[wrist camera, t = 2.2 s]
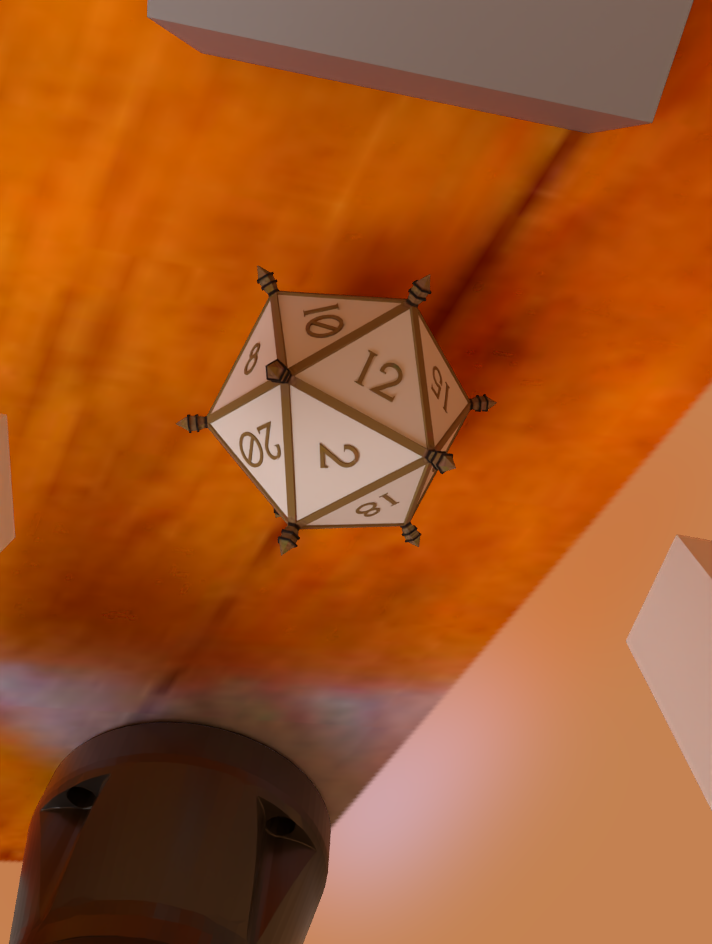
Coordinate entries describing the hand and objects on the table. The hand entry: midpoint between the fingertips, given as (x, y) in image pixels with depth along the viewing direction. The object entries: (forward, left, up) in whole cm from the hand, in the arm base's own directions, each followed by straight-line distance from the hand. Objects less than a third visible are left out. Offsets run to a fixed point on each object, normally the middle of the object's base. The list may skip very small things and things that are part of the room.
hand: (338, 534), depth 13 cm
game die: (0, 0, -12) cm, 12 cm away
